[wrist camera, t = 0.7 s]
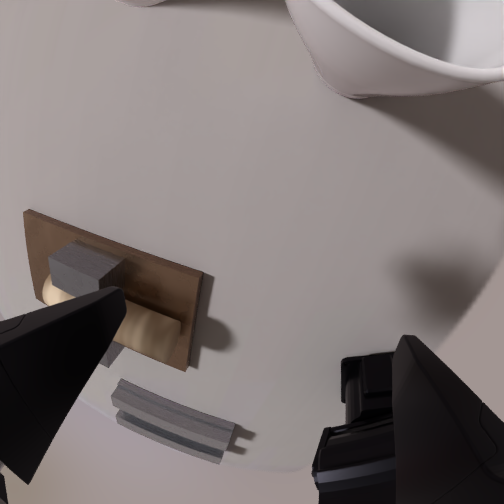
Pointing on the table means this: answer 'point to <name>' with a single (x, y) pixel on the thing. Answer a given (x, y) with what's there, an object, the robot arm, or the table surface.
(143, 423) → the v block
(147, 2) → the white stepped block
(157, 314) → the wooden axle
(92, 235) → the brown board with blocks
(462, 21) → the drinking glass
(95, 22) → the table surface
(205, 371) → the table surface
